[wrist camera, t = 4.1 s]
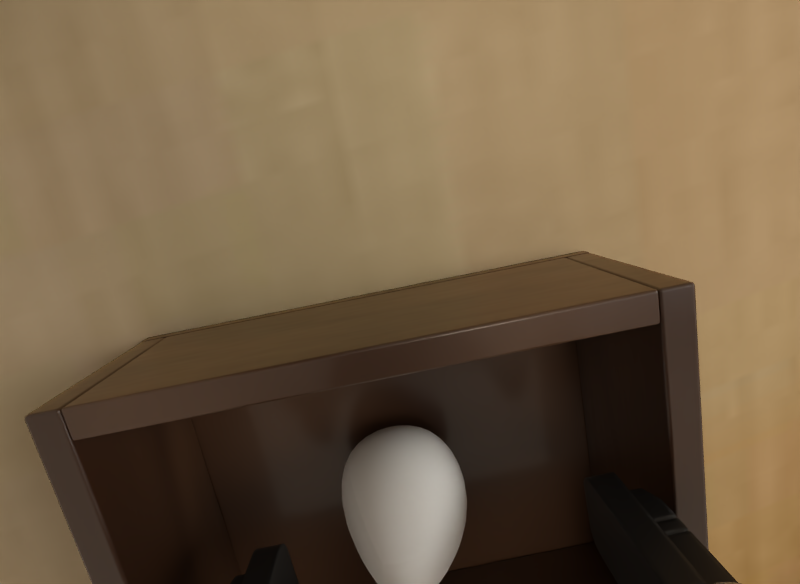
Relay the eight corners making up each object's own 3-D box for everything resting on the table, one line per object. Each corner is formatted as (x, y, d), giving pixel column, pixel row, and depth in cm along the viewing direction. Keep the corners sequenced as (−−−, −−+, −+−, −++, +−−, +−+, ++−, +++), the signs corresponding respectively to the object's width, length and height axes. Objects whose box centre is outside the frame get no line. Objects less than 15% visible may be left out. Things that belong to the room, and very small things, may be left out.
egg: (464, 489, 16) (507, 636, 11) (362, 515, 16) (354, 674, 11) (440, 394, 15) (473, 502, 10) (332, 422, 15) (308, 544, 10)
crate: (241, 621, 17) (182, 807, 12) (147, 337, 15) (20, 416, 10) (615, 546, 18) (717, 698, 12) (584, 250, 15) (696, 282, 10)
